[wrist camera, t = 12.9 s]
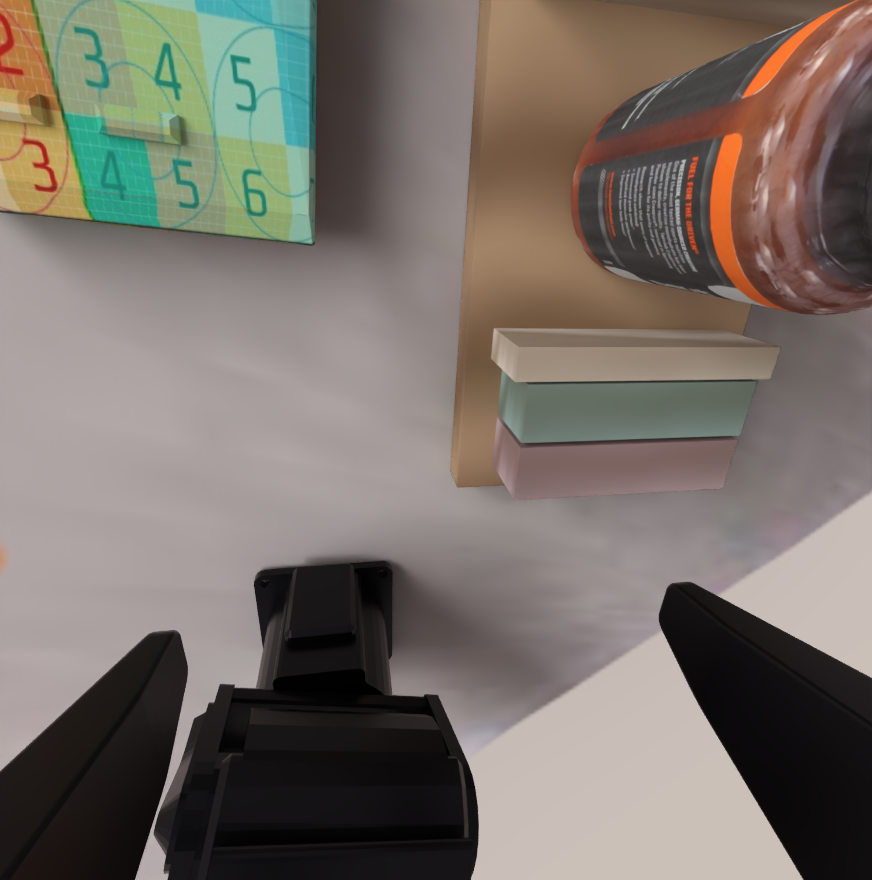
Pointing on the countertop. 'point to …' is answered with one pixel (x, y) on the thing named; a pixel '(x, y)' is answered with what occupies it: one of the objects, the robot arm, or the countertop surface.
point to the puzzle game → (161, 114)
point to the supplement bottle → (744, 174)
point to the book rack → (590, 265)
